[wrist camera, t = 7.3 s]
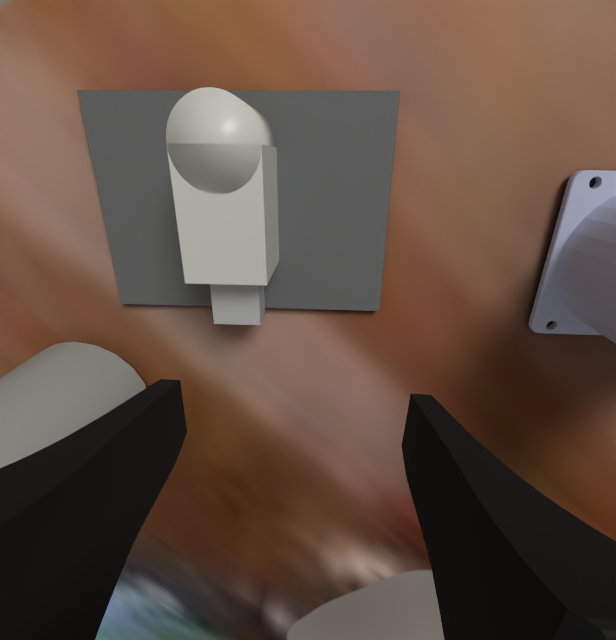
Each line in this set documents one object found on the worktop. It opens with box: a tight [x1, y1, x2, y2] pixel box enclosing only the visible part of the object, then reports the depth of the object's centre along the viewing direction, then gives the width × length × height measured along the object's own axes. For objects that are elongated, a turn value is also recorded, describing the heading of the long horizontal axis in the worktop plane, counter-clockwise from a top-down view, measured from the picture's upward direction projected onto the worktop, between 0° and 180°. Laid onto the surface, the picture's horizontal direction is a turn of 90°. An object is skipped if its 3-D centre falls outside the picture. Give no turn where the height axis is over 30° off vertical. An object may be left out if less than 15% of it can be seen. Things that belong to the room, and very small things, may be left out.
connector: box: [166, 87, 279, 325], centre depth 16 cm, size 9×3×4 cm, turn 0°
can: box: [0, 342, 146, 468], centre depth 18 cm, size 8×8×12 cm
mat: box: [77, 90, 400, 311], centre depth 18 cm, size 14×10×1 cm
